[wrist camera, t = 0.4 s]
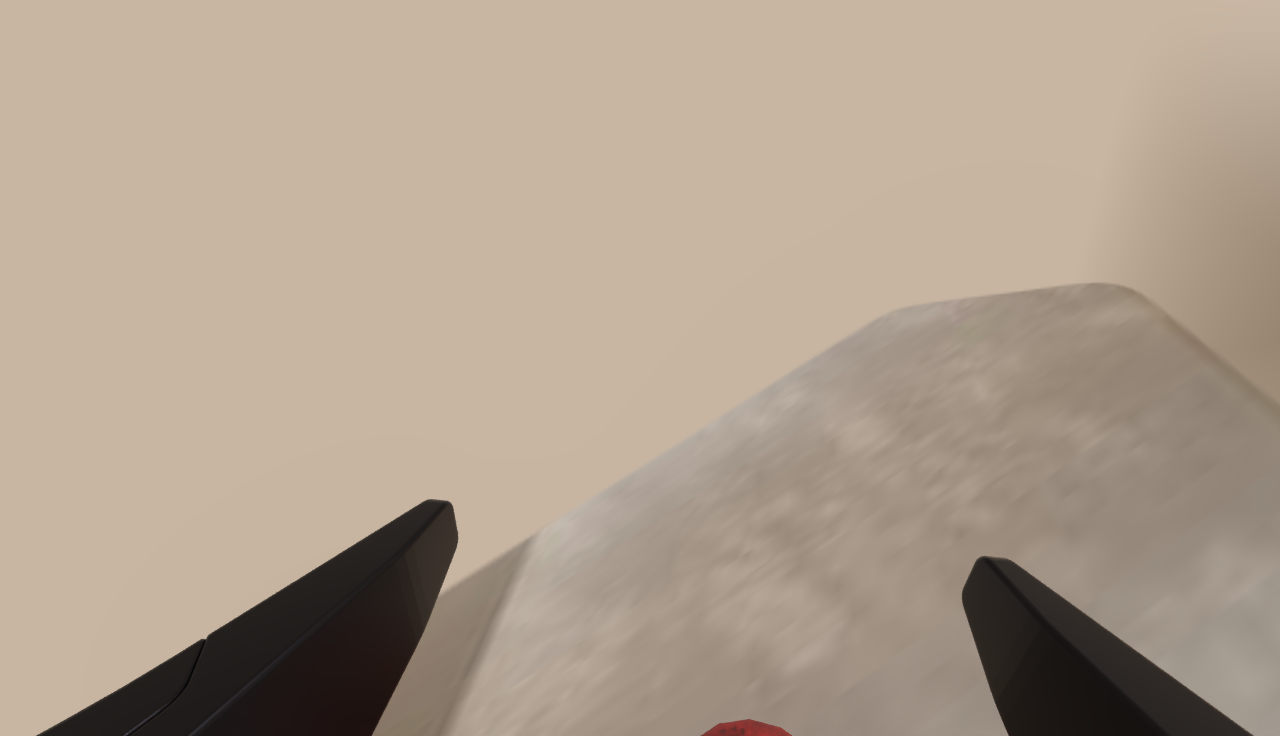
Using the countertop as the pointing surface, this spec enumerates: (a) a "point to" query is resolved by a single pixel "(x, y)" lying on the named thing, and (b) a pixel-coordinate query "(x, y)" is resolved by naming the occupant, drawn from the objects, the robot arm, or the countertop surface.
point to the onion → (746, 729)
